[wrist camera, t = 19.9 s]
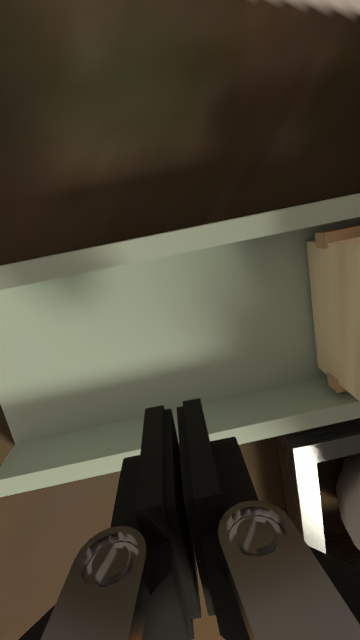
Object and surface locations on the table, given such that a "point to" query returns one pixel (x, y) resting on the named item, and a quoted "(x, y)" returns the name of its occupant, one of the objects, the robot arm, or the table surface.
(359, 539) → the salt shaker
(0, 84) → the table surface
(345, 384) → the crate
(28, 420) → the bay
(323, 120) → the table surface
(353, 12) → the table surface
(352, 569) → the robot arm
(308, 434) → the grey square frame
